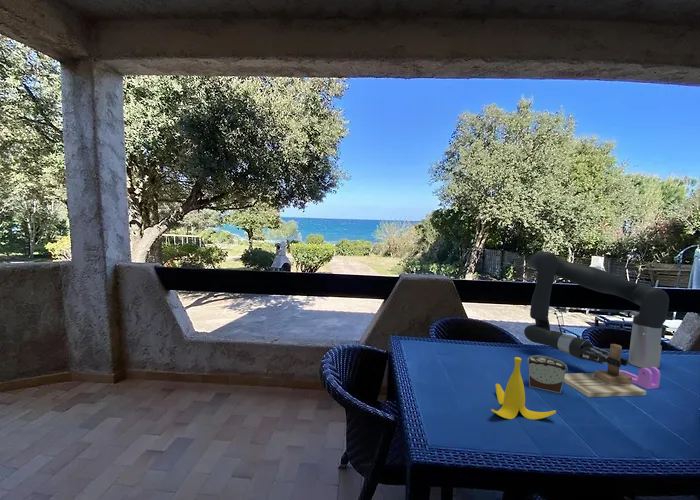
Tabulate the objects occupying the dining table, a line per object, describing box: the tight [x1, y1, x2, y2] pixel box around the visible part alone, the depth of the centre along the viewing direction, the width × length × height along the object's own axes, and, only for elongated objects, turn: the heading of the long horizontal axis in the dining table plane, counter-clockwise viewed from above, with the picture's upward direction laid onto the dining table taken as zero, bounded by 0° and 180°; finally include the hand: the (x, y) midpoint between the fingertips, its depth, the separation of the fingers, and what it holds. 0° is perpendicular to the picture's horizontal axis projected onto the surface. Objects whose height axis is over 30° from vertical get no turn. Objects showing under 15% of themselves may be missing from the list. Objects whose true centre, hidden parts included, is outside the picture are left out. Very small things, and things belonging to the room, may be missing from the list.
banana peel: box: [490, 356, 557, 421], centre depth 99 cm, size 17×19×17 cm
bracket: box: [619, 367, 661, 390], centre depth 125 cm, size 13×6×7 cm, turn 18°
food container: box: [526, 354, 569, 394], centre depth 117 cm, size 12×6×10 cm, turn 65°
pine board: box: [563, 372, 647, 398], centre depth 119 cm, size 22×14×2 cm, turn 98°
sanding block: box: [593, 343, 633, 386], centre depth 119 cm, size 9×6×13 cm, turn 98°
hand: (623, 363), depth 117 cm, fingers closed on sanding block, 3 cm apart
